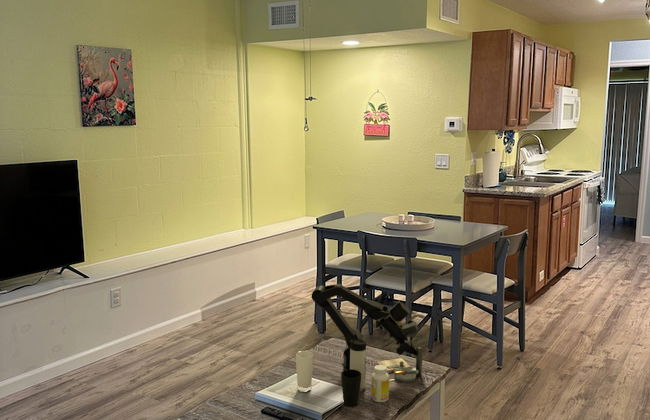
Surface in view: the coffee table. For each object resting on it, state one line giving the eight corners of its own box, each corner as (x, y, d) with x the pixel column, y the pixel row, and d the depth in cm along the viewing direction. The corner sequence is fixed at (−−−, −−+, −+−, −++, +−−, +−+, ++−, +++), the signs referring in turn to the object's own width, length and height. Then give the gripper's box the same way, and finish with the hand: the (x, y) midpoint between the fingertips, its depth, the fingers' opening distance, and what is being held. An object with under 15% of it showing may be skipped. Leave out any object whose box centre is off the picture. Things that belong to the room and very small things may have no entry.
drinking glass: (305, 384, 240) (305, 349, 237) (316, 390, 235) (316, 354, 232) (292, 389, 235) (292, 353, 232) (304, 395, 230) (304, 359, 228)
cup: (361, 399, 228) (361, 369, 226) (360, 409, 220) (361, 378, 218) (341, 398, 229) (341, 368, 226) (339, 408, 221) (340, 377, 219)
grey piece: (400, 384, 240) (401, 356, 238) (390, 374, 248) (390, 347, 246) (427, 379, 245) (428, 351, 242) (415, 370, 253) (416, 343, 251)
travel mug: (346, 385, 238) (346, 338, 235) (361, 382, 241) (361, 336, 238) (353, 392, 233) (353, 344, 229) (368, 389, 235) (369, 341, 232)
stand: (385, 373, 250) (385, 365, 249) (376, 364, 258) (376, 357, 258) (410, 369, 254) (411, 362, 253) (401, 360, 262) (401, 353, 262)
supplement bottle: (390, 396, 230) (391, 365, 228) (386, 404, 224) (387, 372, 222) (373, 393, 233) (374, 362, 230) (369, 401, 226) (369, 369, 224)
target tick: (389, 381, 243) (389, 380, 242) (388, 380, 243) (388, 379, 243) (394, 380, 244) (394, 379, 243) (393, 379, 244) (393, 378, 244)
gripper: (405, 324, 239) (432, 352, 238) (408, 308, 257) (433, 335, 256) (385, 341, 241) (411, 369, 241) (389, 324, 259) (414, 350, 259)
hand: (418, 355), depth 249 cm, fingers closed
